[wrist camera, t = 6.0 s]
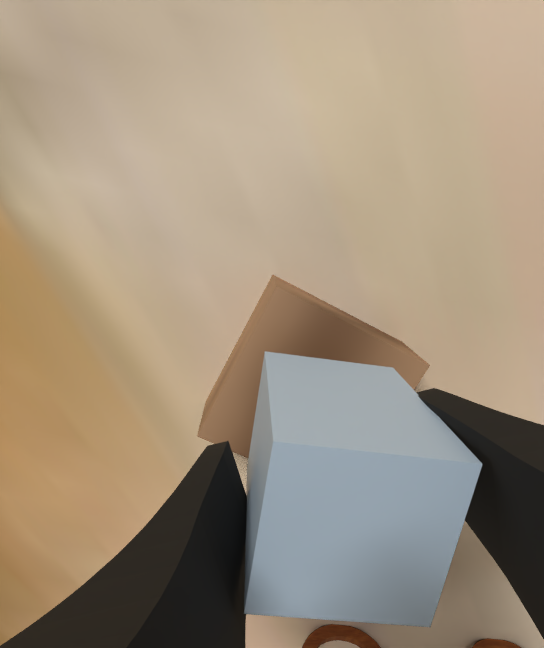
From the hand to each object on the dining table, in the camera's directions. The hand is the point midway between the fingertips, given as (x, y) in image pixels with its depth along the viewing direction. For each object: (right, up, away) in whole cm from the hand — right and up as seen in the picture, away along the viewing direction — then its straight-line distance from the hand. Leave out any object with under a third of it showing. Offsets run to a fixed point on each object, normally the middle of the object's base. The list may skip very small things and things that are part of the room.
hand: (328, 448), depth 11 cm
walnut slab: (0, +2, +6) cm, 6 cm away
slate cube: (0, 0, +2) cm, 2 cm away
